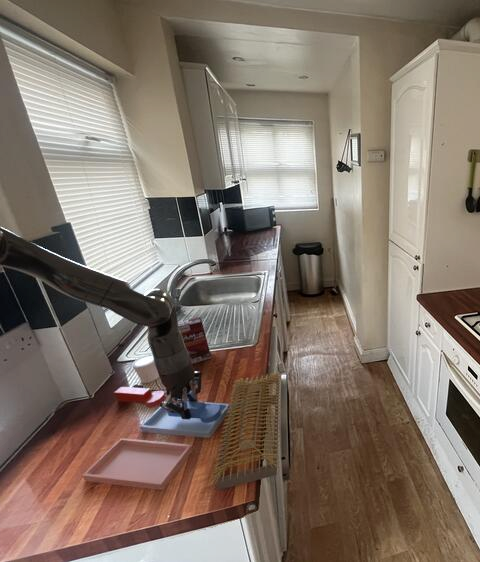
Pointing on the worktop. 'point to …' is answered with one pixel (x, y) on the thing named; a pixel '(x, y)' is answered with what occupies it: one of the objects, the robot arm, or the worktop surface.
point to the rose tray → (139, 464)
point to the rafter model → (243, 406)
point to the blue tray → (183, 423)
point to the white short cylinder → (146, 369)
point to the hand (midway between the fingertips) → (191, 414)
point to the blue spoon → (201, 411)
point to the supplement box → (195, 339)
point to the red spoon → (140, 396)
